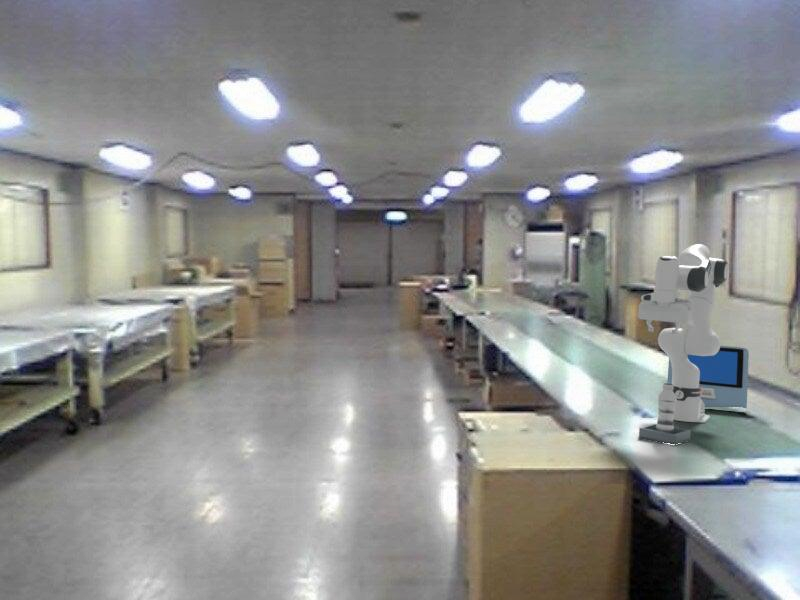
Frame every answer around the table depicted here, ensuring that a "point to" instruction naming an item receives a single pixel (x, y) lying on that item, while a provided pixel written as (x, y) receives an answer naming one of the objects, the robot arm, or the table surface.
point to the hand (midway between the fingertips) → (662, 333)
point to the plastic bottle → (666, 409)
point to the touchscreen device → (722, 377)
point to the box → (664, 435)
